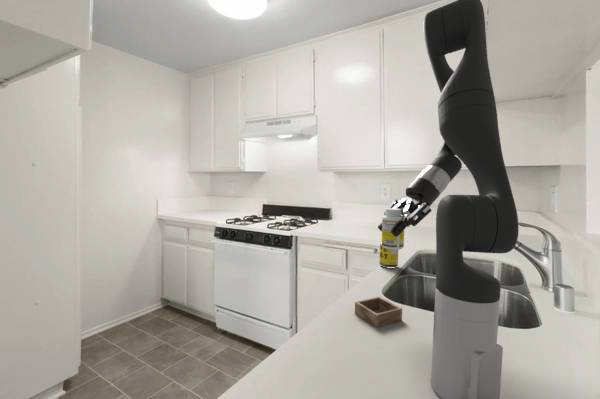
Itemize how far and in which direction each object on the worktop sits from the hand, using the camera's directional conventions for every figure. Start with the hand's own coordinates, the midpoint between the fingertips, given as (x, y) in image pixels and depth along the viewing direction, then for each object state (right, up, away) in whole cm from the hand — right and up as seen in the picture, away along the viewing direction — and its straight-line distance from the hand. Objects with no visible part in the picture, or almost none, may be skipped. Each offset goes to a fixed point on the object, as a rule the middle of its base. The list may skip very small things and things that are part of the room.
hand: (386, 231), depth 76 cm
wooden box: (-2, -22, 0) cm, 22 cm away
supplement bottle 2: (+14, -19, +45) cm, 51 cm away
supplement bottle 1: (+2, -4, +1) cm, 5 cm away
